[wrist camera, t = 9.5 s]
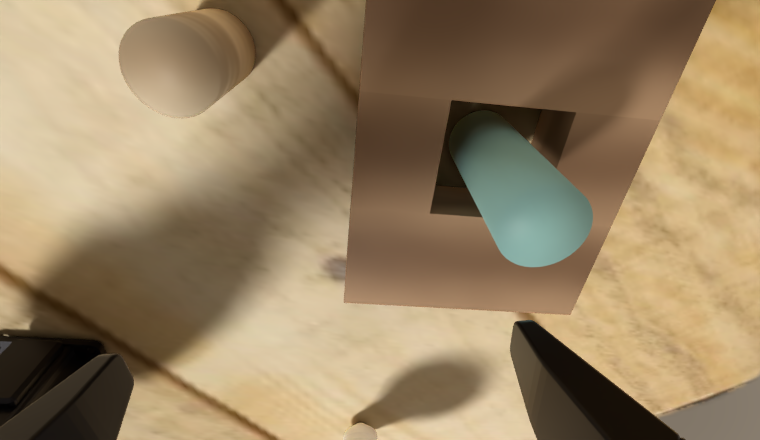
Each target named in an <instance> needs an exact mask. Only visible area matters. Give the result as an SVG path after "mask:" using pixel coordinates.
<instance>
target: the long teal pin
mask: <svg viewBox="0 0 760 440" xmlns="http://www.w3.org/2000/svg"><path fill="white" fill-rule="evenodd" d="M449 150H450V154H451V156H452V158H453V160H454V162H455V164H456V166H457V168H458V170H459V172H460V174H461V176H462V178H463V180H464V182H465V184H466V186H467V188H468V190H469V191H470V193H471V195H472V197H473V199H474V201H475V203H476V205H477V207H478V209H479V211H480V213H481V215H482V217H483V219H484V221H485V223H486V225H487V227H488V229H489V231H490V233H491V235H492V237H493V239H494V241H495V243H496V245H497V247H498V249H499V250H500V252H501V253H502V255H503V256H504V257H505V258H506V259H508V260H509V261H511V262H513V263H514V264H517V265H520V266H524V267H542V266H548V265H551V264H554V263H557V262H559V261H561V260H563V259H565V258H567V257H568V256H570V255H571V254H572V253H574V252H575V251H576V250H577V249H578V248H579V247H580V246H581V245H582V244H583V242H584V241H585V240H586V238H587V236H588V234H589V232H590V230H591V227H592V222H593V211H592V207H591V205H590V203H589V201H588V199H587V198H586V197H585V196H584V195H583V194H582V193H581V192H580V191H579V190H578V189H577V188H576V187H575V186H574V185H573V184H572V183H571V182H570V181H569V180H568V179H567V178H565V177H564V176H563V175H562V174H561V173H560V172H559V171H558V170H557V169H556V168H555V167H554V166H553V165H552V164H551V163H550V162H549V161H548V160H547V159H546V158H545V157H544V156H543V155H542V154H540V153H539V152H538V151H537V150H536V149H535V148H534V147H533V146H532V145H531V144H530V143H529V142H528V141H527V140H526V139H525V138H524V137H523V136H522V135H521V134H520V133H519V132H518V131H517V130H516V129H514V128H513V127H512V126H511V125H510V124H509V123H508V122H507V121H506V120H505V119H504V118H503V117H502V116H501V115H499V114H497V113H495V112H492V111H484V110H483V111H476V112H473V113H470V114H468V115H466V116H465V117H463V118H462V119H461V120H460V121H459V122H458V123H457V124H456V125H455V127H454V128H453V130H452V132H451V135H450V139H449Z"/></svg>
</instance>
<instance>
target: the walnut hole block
mask: <svg viewBox="0 0 760 440" xmlns="http://www.w3.org/2000/svg"><path fill="white" fill-rule="evenodd" d="M715 1H716V0H366V10H365V23H364V36H363V49H362V62H361V76H360V89H359V102H358V115H357V129H356V142H355V155H354V168H353V182H352V195H351V208H350V221H349V235H348V248H347V261H346V276H345V292H344V303H361V304H379V305H397V306H416V307H434V308H452V309H471V310H489V311H507V312H526V313H544V314H562V315H570V314H571V312H572V310H573V308H574V306H575V304H576V301H577V299H578V297H579V295H580V293H581V291H582V288H583V286H584V284H585V282H586V280H587V278H588V275H589V273H590V271H591V269H592V267H593V265H594V263H595V260H596V258H597V256H598V254H599V252H600V250H601V247H602V245H603V243H604V241H605V239H606V237H607V234H608V232H609V230H610V228H611V226H612V224H613V221H614V219H615V217H616V215H617V213H618V211H619V209H620V206H621V204H622V202H623V200H624V198H625V196H626V193H627V191H628V189H629V187H630V185H631V183H632V180H633V178H634V176H635V174H636V172H637V170H638V167H639V165H640V163H641V161H642V159H643V157H644V154H645V152H646V150H647V148H648V146H649V144H650V142H651V139H652V137H653V135H654V133H655V131H656V129H657V126H658V124H659V122H660V120H661V118H662V116H663V113H664V111H665V109H666V107H667V105H668V103H669V100H670V98H671V96H672V94H673V92H674V90H675V88H676V85H677V83H678V81H679V79H680V77H681V75H682V72H683V70H684V68H685V66H686V64H687V62H688V59H689V57H690V55H691V53H692V51H693V49H694V46H695V44H696V42H697V40H698V38H699V36H700V33H701V31H702V29H703V27H704V25H705V23H706V21H707V18H708V16H709V14H710V12H711V10H712V8H713V5H714V3H715ZM451 100H456V101H466V102H476V103H486V104H496V105H507V106H517V107H527V108H537V109H542V110H541V114H540V117H539V120H538V123H537V127H536V130H535V133H534V137H533V140H532V143H531V145H532V146H533V147H534V148H535V149H536V150H537V151H538V152H539V153H540V154H542V155H543V156H544V157H545V158H546V159H547V160H548V161H549V162H550V163H551V164H552V165H553V166H554V167H555V168H556V169H557V170H558V171H559V172H560V173H561V174H562V175H563V176H564V177H565V178H567V179H568V180H569V181H570V182H571V183H572V184H573V185H574V186H575V187H576V188H577V189H578V190H579V191H580V192H581V193H582V194H583V195H584V196H585V197H586V198H587V199H588V201H589V203H590V205H591V207H592V211H593V222H592V227H591V230H590V232H589V234H588V236H587V238H586V240H585V241H584V242H583V244H582V245H581V246H580V247H579V248H578V249H577V250H576V251H575V252H574V253H572V254H571V255H570V256H568V257H567V258H565V259H563V260H561V261H559V262H557V263H554V264H551V265H548V266H542V267H524V266H520V265H517V264H514V263H513V262H511V261H509V260H508V259H506V258H505V257H504V256H503V255H502V253H501V252H500V250H499V249H498V247H497V245H496V243H495V241H494V239H493V237H492V235H491V233H490V231H489V229H488V227H487V225H486V223H485V221H484V219H483V217H482V215H481V213H480V211H479V209H478V207H477V205H476V203H475V201H474V199H473V197H472V195H471V193H470V191H469V190H468V188H461V187H449V186H436V185H435V184H436V178H437V173H438V168H439V163H440V157H441V152H442V147H443V142H444V137H445V131H446V126H447V121H448V116H449V110H450V105H451Z"/></svg>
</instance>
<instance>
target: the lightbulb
mask: <svg viewBox="0 0 760 440" xmlns="http://www.w3.org/2000/svg"><path fill="white" fill-rule="evenodd" d="M343 440H377V432H376V431H375V429H374V428H372V427H371V426H369V425H366V424H365V423H357V424H355V425H353V426H351V427H349V428H348V429H347V430H346V431H345V432H344V437H343Z"/></svg>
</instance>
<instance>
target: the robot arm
mask: <svg viewBox="0 0 760 440" xmlns="http://www.w3.org/2000/svg"><path fill="white" fill-rule="evenodd" d="M510 352H511V357H512V361H513V364H514V368H515V371H516V375H517V378H518V382H519V385H520V389H521V392H522V396H523V399H524V403H525V406H526V410H527V413H528V416H529V419H530V422H531V425H532V427H533V430H534V433H535V435H536V438H537V440H685V439H684V438H680V437H679V435H678V433H676V432H675V431H674V430H672V429H671V428H670V427H669V426H667V425H666V424H665V423H664V422H662V421H661V420H660V419H658V418H657V417H656V416H655V415H653V414H652V413H651V412H650V411H648V410H647V409H646V408H644V407H643V406H642V405H641V404H639V403H638V402H637V401H635V400H634V399H633V398H632V397H630V396H629V395H628V394H627V393H625V392H624V391H623V390H621V389H620V388H619V387H618V386H616V385H615V384H614V383H613V382H611V381H610V380H609V379H607V378H606V377H605V376H604V375H602V374H601V373H600V372H599V371H597V370H596V369H595V368H593V367H592V366H591V365H590V364H588V363H587V362H586V361H584V360H583V359H582V358H581V357H579V356H578V355H577V354H576V353H574V352H573V351H572V350H570V349H569V348H568V347H567V346H565V345H564V344H563V343H562V342H560V341H559V340H558V339H556V338H555V337H554V336H553V335H551V334H550V333H549V332H548V331H546V330H545V329H544V328H542V327H541V326H540V325H539V324H537V323H536V322H534V321H532V320H526V321H517V322H515V323H514V325H513V331H512V338H511V345H510ZM133 385H134V379H133V376H132V374H131V372H130V370H129V368H128V366H127V364H126V363H125V361H124V359H123V357H122V356H121V355H120V354H117V353H113V354H106V351H105V349H104V346H103V344H102V343H100V342H98V341H95V340H77V339H55V338H32V337H10V336H0V440H117V437H118V434H119V431H120V427H121V424H122V421H123V418H124V415H125V412H126V409H127V405H128V402H129V399H130V396H131V393H132V390H133Z"/></svg>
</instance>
